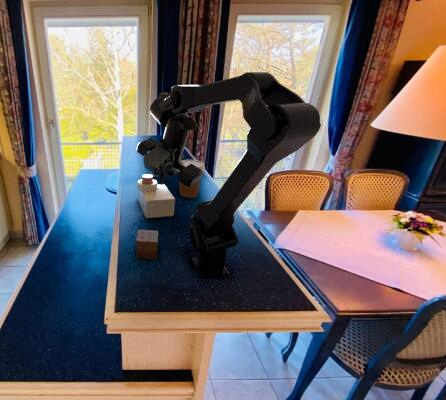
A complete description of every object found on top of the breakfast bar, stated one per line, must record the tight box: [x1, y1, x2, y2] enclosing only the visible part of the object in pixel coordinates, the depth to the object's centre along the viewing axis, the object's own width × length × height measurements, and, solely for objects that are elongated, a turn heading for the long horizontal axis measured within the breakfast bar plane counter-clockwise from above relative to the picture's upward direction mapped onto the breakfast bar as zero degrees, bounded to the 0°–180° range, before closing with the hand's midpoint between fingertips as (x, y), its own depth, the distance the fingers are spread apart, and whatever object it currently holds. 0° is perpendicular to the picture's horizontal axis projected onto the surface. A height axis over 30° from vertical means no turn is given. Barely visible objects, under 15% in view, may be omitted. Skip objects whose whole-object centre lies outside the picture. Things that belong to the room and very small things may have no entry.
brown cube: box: [135, 229, 159, 260], centre depth 65 cm, size 5×5×5 cm
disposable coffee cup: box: [178, 159, 206, 199], centre depth 95 cm, size 10×10×12 cm
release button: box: [141, 173, 154, 185], centre depth 87 cm, size 4×4×3 cm
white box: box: [136, 178, 176, 219], centre depth 87 cm, size 13×10×8 cm
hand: (161, 184), depth 76 cm, fingers closed
